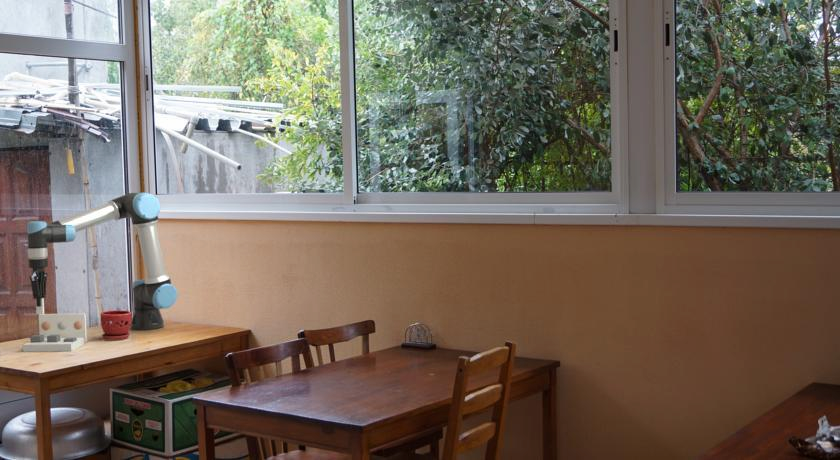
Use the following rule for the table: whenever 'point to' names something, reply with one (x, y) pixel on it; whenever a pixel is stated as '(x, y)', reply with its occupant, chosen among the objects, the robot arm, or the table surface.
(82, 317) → the pattern sign
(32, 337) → the outer button
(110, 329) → the plant pot
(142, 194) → the robot arm
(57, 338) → the middle button
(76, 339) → the outer button
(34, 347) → the console
